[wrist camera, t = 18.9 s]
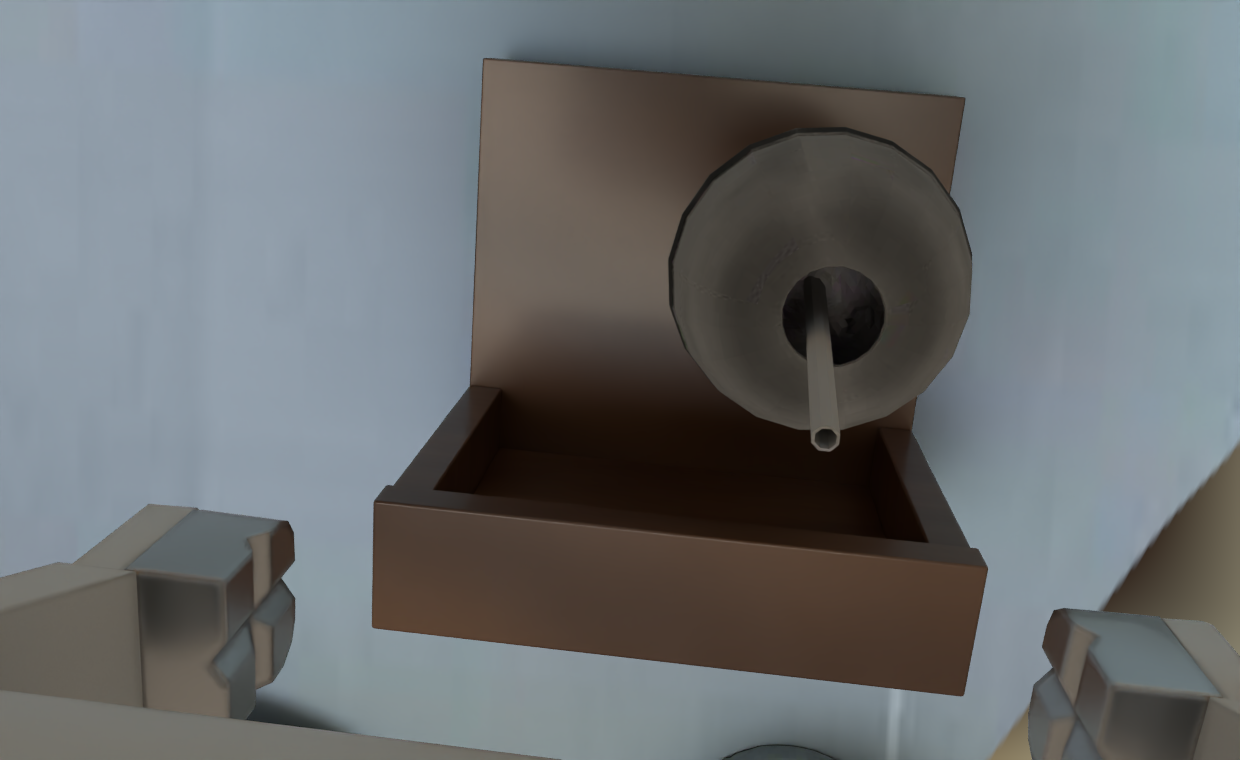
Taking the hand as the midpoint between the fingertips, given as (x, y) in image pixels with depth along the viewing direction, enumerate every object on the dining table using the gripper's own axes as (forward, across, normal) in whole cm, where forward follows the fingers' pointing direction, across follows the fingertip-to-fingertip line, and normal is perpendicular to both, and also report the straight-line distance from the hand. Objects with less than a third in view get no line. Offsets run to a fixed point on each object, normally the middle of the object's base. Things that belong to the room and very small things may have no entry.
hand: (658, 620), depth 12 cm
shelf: (+30, 0, +2) cm, 30 cm away
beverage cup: (+28, -3, -1) cm, 28 cm away
